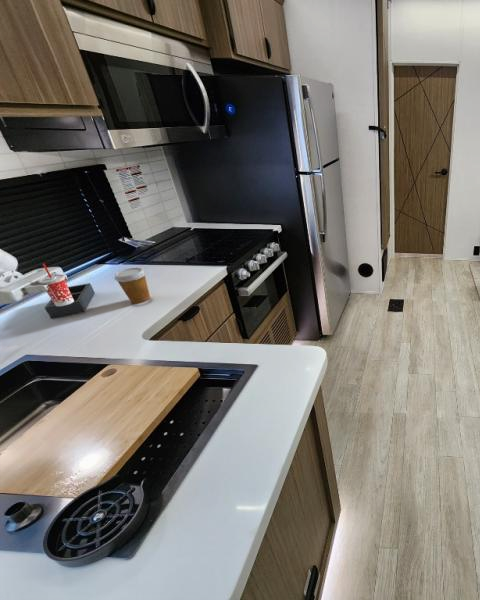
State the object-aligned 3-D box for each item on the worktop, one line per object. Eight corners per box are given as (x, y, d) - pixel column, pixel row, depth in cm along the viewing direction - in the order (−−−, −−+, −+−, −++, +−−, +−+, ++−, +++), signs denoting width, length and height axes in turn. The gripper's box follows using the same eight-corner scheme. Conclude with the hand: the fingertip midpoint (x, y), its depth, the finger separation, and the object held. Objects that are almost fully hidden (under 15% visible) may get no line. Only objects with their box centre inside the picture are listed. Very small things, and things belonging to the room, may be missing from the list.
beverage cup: (81, 297, 113) (61, 259, 106) (70, 306, 108) (48, 266, 101) (59, 300, 111) (38, 261, 105) (47, 308, 106) (24, 268, 100)
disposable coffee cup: (152, 292, 137) (141, 265, 131) (157, 299, 131) (146, 271, 125) (124, 299, 131) (111, 272, 125) (128, 308, 125) (115, 279, 119)
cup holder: (51, 318, 119) (44, 307, 117) (65, 298, 133) (59, 288, 130) (84, 312, 123) (78, 301, 121) (95, 293, 137) (90, 283, 135)
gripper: (41, 280, 115) (84, 278, 117) (-17, 309, 97) (35, 306, 99) (31, 263, 112) (75, 261, 114) (-30, 289, 94) (23, 287, 96)
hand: (56, 282), depth 106 cm, fingers closed on beverage cup, 6 cm apart
